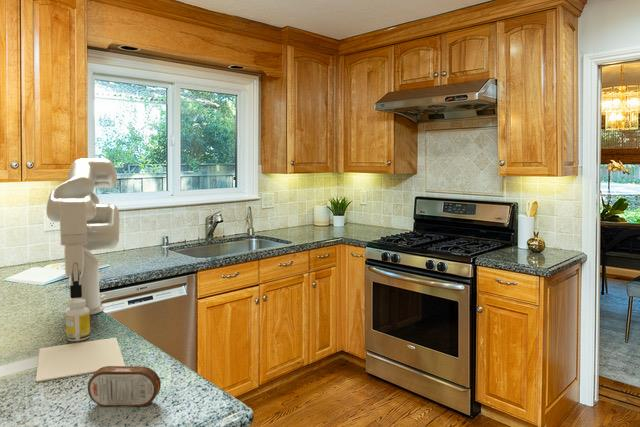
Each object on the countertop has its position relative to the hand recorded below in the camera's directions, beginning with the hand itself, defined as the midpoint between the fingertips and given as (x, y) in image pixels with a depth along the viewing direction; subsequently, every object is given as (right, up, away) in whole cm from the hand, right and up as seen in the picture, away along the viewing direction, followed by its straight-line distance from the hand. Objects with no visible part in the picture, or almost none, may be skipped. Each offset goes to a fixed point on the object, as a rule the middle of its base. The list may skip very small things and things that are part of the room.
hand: (76, 297), depth 154 cm
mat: (+12, -13, -22) cm, 28 cm away
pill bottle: (+4, -12, -6) cm, 14 cm away
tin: (+34, -15, -48) cm, 61 cm away
